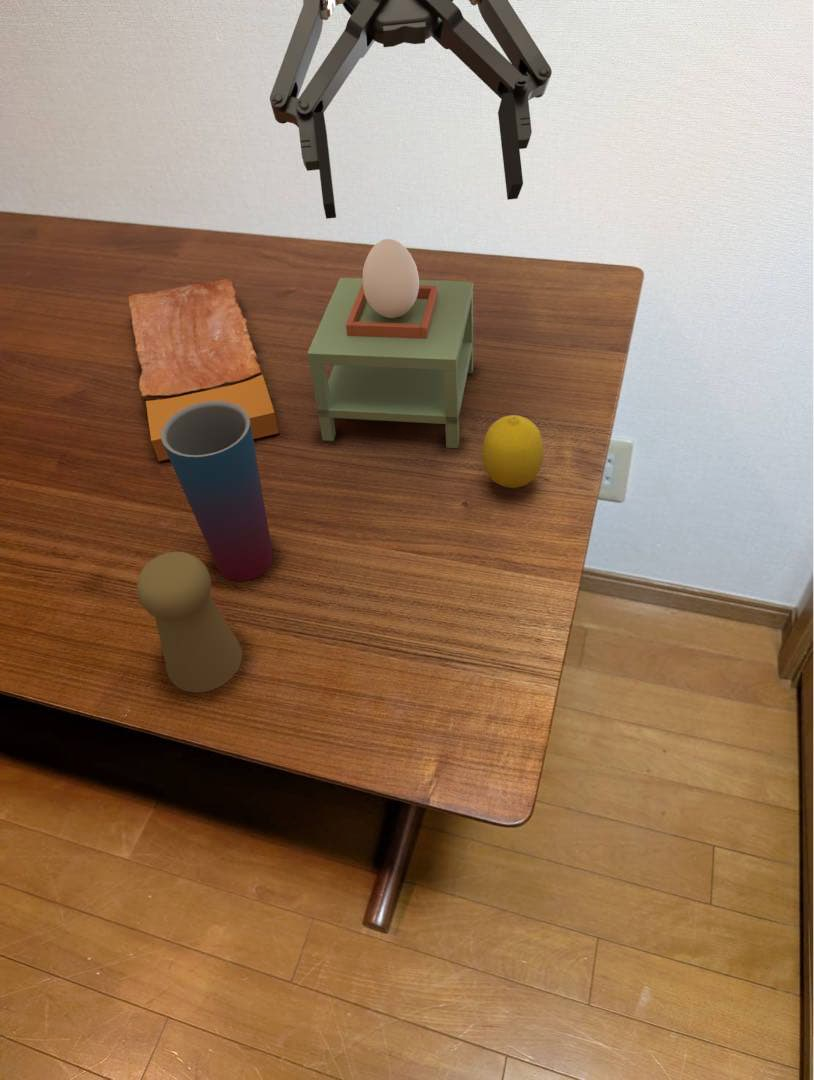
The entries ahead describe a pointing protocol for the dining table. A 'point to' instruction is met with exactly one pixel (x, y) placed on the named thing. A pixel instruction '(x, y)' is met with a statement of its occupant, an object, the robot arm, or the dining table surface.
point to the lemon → (512, 451)
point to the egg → (390, 279)
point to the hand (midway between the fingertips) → (422, 202)
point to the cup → (222, 484)
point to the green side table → (394, 358)
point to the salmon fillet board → (197, 356)
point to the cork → (188, 622)
